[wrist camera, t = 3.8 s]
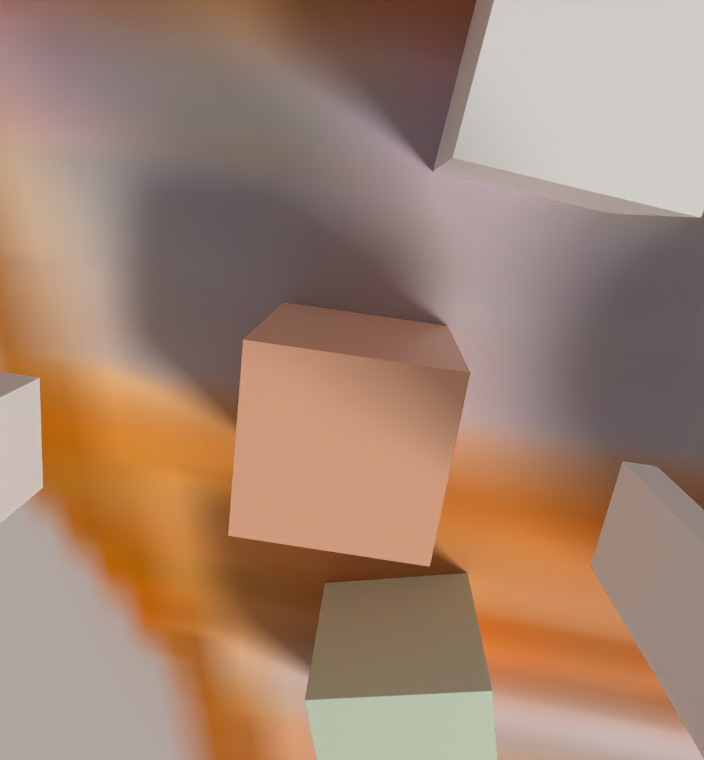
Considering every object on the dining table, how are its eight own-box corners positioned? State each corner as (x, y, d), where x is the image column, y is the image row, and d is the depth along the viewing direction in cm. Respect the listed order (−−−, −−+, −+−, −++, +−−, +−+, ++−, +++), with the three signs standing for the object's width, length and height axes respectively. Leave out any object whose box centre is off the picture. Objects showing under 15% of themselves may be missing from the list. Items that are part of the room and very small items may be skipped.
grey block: (485, -35, 14) (534, -155, 9) (677, 12, 14) (822, -83, 10) (432, 171, 16) (452, 157, 11) (606, 213, 16) (700, 217, 11)
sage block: (324, 581, 20) (305, 700, 15) (466, 571, 20) (492, 690, 15) (343, 692, 21) (330, 831, 17) (476, 685, 21) (502, 827, 16)
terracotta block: (283, 301, 17) (242, 339, 12) (447, 325, 17) (470, 372, 12) (269, 450, 19) (228, 535, 14) (419, 473, 19) (429, 566, 14)
